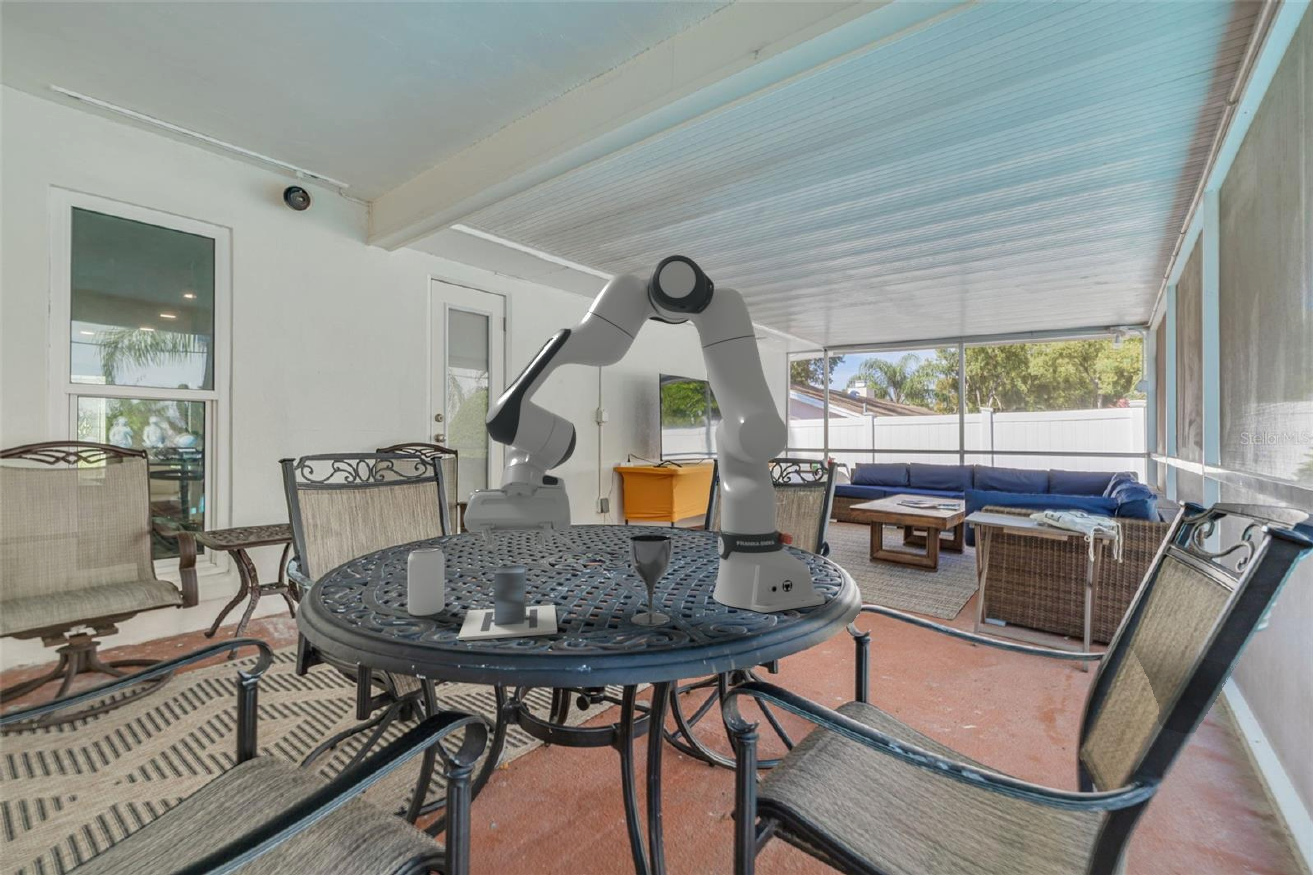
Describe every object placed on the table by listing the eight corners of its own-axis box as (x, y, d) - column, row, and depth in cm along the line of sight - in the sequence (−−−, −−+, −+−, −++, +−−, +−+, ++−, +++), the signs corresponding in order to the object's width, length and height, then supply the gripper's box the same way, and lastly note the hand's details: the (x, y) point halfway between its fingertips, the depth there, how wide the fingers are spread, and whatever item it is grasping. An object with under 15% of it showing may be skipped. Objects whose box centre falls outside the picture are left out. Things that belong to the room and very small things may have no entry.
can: (431, 618, 103) (431, 553, 103) (400, 615, 104) (400, 551, 104) (451, 607, 109) (451, 546, 109) (421, 605, 110) (421, 544, 110)
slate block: (526, 614, 103) (526, 565, 103) (523, 623, 98) (523, 572, 98) (498, 615, 102) (498, 566, 102) (494, 625, 97) (494, 573, 97)
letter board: (554, 608, 109) (554, 604, 109) (557, 633, 95) (557, 629, 95) (468, 613, 105) (468, 610, 105) (458, 640, 92) (458, 637, 92)
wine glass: (621, 623, 100) (621, 539, 100) (639, 610, 108) (639, 532, 107) (663, 629, 97) (663, 543, 97) (678, 615, 105) (678, 535, 104)
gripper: (467, 480, 110) (454, 538, 101) (571, 478, 112) (568, 536, 103) (472, 499, 115) (460, 557, 105) (572, 498, 117) (570, 555, 107)
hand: (514, 547), depth 104 cm, fingers open, 8 cm apart
